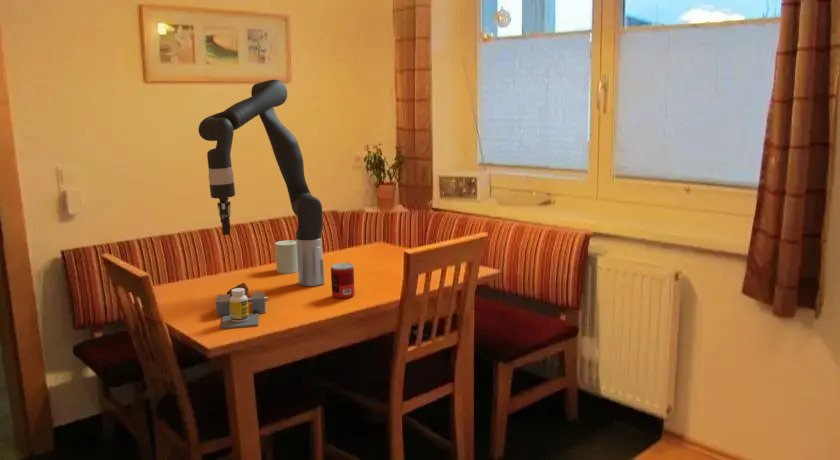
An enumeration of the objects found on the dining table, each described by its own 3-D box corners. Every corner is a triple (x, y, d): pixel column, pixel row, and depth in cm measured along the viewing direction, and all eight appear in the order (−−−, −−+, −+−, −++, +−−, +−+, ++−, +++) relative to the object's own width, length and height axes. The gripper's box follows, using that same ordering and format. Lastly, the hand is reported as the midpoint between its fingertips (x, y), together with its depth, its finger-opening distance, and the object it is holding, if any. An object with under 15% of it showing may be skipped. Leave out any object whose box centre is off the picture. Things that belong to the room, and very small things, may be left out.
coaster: (258, 315, 225) (258, 313, 225) (257, 325, 215) (257, 324, 214) (223, 318, 223) (223, 316, 223) (220, 329, 212) (220, 327, 212)
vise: (268, 303, 237) (267, 289, 236) (268, 312, 227) (267, 298, 226) (216, 308, 234) (215, 293, 233) (213, 317, 224) (212, 302, 223)
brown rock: (238, 303, 238) (237, 289, 238) (222, 301, 241) (221, 287, 240) (252, 296, 246) (251, 282, 245) (236, 295, 248) (235, 281, 248)
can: (304, 269, 282) (303, 240, 280) (289, 274, 274) (287, 244, 272) (287, 266, 287) (285, 238, 284) (271, 272, 279) (269, 242, 277)
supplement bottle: (244, 323, 216) (242, 292, 214) (228, 322, 217) (225, 291, 215) (251, 317, 221) (249, 287, 219) (235, 316, 222) (233, 286, 220)
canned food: (358, 293, 246) (357, 263, 244) (348, 300, 239) (347, 268, 237) (338, 292, 249) (337, 262, 246) (328, 298, 241) (326, 267, 239)
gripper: (233, 183, 216) (239, 235, 219) (234, 178, 229) (239, 226, 233) (208, 185, 214) (214, 237, 217) (210, 180, 228) (215, 229, 231)
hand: (226, 232), depth 225 cm, fingers open, 8 cm apart
